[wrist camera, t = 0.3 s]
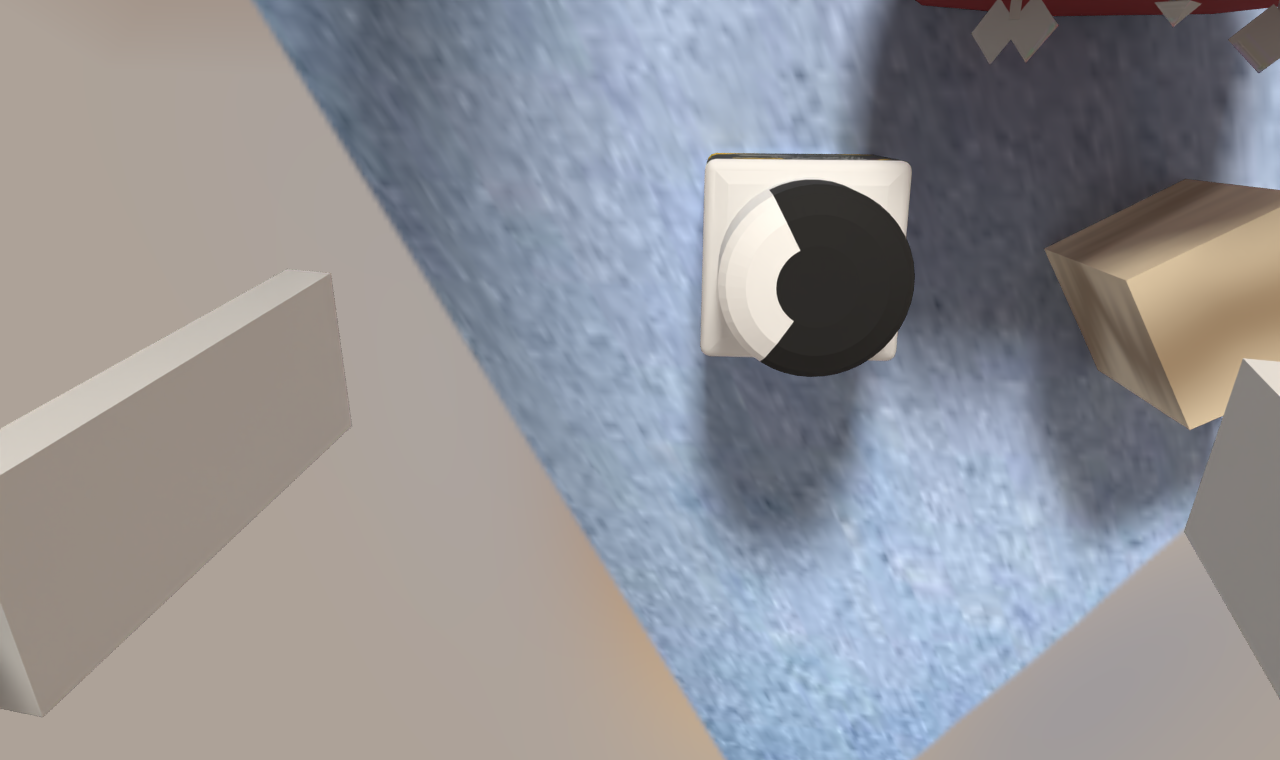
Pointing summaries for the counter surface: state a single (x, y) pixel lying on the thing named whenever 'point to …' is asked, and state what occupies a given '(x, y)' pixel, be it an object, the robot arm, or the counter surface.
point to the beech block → (1178, 293)
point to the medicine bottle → (805, 259)
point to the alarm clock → (1029, 4)
